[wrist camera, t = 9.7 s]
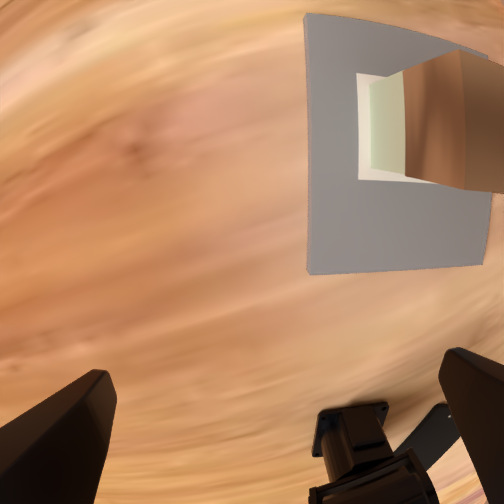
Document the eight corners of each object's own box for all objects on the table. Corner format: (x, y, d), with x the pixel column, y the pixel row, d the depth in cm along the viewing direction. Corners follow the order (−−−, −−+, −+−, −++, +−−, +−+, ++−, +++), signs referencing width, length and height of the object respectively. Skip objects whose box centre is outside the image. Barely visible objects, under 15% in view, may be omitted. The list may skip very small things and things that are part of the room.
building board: (475, 260, 21) (483, 265, 20) (306, 269, 20) (310, 276, 19) (479, 57, 16) (488, 55, 15) (303, 18, 16) (306, 12, 15)
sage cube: (438, 173, 18) (482, 181, 13) (370, 168, 18) (406, 174, 13) (437, 97, 16) (481, 89, 12) (368, 85, 16) (404, 69, 12)
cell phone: (343, 496, 31) (344, 501, 30) (435, 400, 26) (439, 406, 25) (393, 494, 32) (395, 498, 31) (479, 405, 27) (483, 410, 26)
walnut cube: (480, 182, 13) (541, 198, 9) (404, 176, 13) (463, 190, 9) (479, 90, 12) (539, 83, 8) (402, 71, 12) (458, 48, 7)
